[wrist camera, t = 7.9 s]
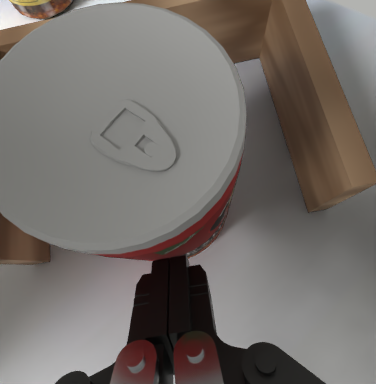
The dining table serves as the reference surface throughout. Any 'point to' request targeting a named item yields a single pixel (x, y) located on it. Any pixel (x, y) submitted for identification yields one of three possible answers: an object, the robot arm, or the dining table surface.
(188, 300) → the robot arm
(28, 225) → the canned food
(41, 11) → the sauce bottle
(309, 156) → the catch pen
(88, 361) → the dining table surface
